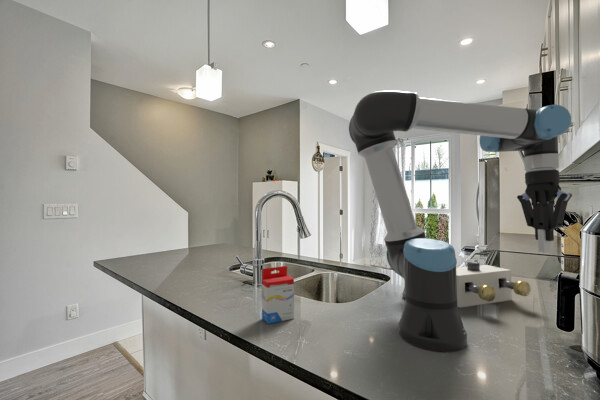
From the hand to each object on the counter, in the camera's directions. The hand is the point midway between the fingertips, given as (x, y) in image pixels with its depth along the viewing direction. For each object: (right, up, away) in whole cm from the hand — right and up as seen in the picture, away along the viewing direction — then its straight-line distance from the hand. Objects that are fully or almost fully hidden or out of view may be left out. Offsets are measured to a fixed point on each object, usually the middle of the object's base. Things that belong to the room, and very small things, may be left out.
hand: (544, 251), depth 80 cm
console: (-11, -19, +14) cm, 26 cm away
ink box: (-77, -20, +2) cm, 80 cm away
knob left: (-16, -15, +6) cm, 23 cm away
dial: (-11, -9, +15) cm, 21 cm away
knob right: (-3, -15, +10) cm, 18 cm away
